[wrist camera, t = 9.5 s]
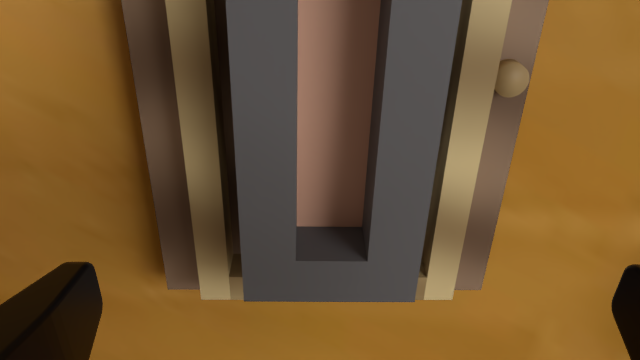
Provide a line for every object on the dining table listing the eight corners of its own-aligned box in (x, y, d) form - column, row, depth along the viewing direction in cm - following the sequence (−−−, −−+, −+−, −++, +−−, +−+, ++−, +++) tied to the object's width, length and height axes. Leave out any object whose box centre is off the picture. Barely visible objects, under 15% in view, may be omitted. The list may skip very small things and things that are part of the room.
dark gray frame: (397, 235, 22) (414, 301, 18) (253, 233, 22) (243, 301, 18) (447, -165, 15) (490, -178, 11) (235, -172, 15) (214, -188, 11)
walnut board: (471, 268, 25) (491, 313, 22) (175, 267, 24) (159, 313, 22) (591, -282, 15) (651, -317, 12) (91, -301, 14) (43, -341, 12)
